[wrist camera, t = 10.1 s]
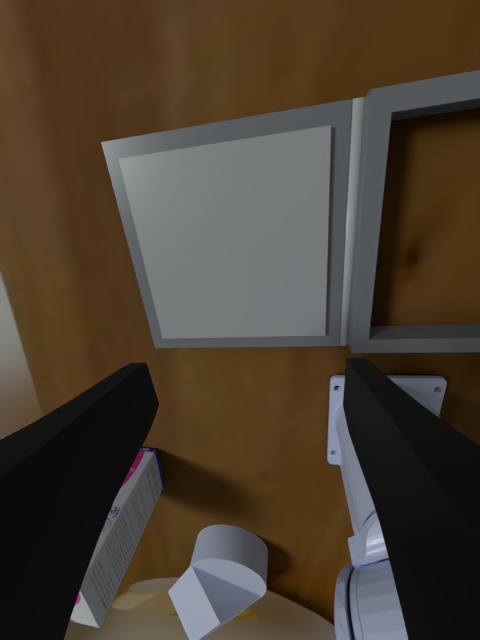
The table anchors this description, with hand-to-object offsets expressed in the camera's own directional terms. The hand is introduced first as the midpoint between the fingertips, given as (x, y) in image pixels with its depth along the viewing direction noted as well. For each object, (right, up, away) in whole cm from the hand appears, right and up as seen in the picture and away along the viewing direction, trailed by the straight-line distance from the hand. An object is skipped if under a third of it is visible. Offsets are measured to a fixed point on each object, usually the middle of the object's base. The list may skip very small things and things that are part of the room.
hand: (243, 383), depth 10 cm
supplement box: (-11, -13, +20) cm, 27 cm away
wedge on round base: (-2, -28, +25) cm, 37 cm away
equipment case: (+7, +7, +7) cm, 12 cm away
